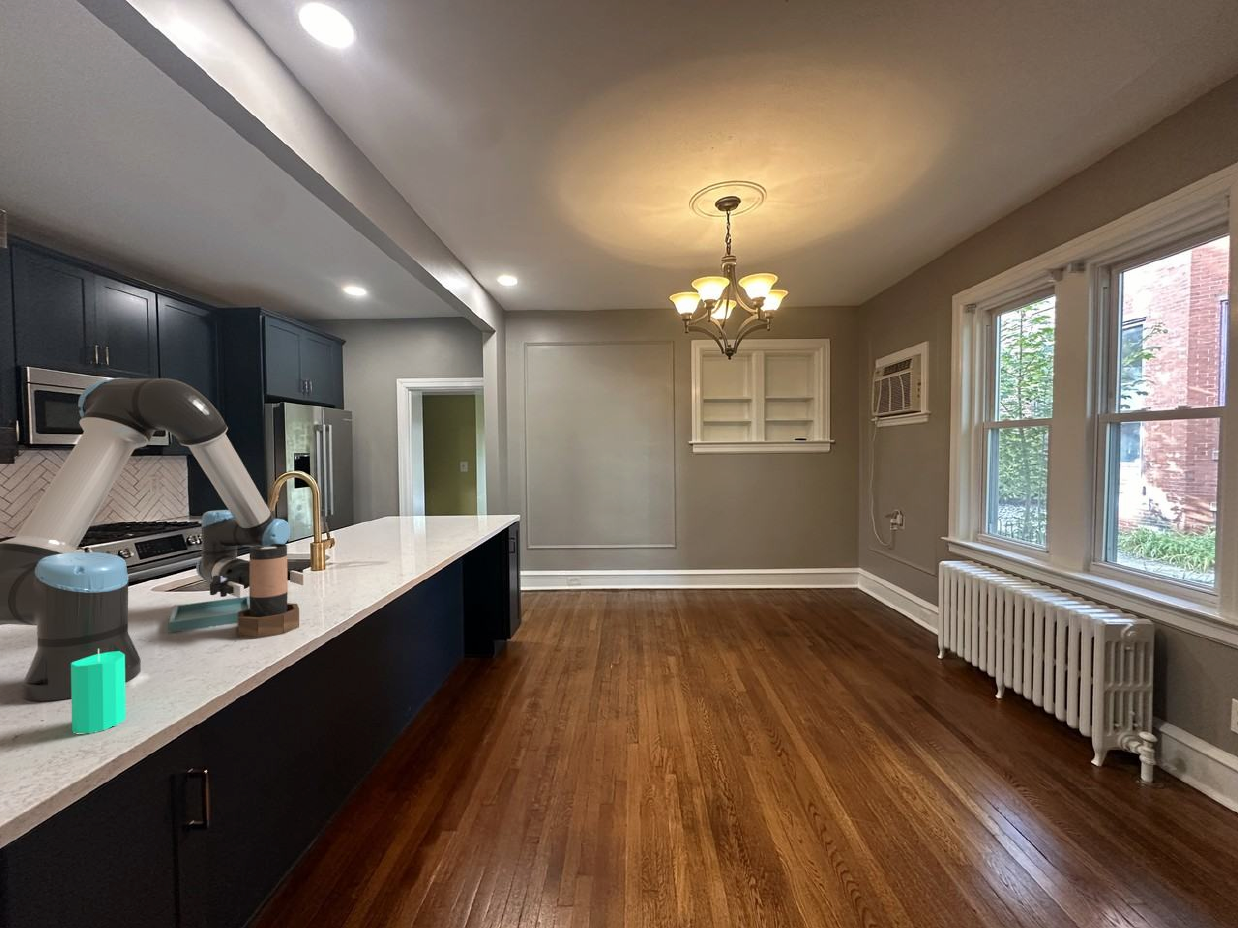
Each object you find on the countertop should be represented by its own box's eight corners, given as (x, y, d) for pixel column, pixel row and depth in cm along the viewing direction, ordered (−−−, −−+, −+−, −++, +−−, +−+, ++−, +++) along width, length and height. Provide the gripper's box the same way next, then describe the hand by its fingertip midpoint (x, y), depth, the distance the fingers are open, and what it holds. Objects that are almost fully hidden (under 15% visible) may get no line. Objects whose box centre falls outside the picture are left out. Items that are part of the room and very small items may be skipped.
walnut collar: (238, 641, 117) (238, 621, 117) (237, 626, 127) (237, 608, 127) (300, 630, 124) (300, 612, 124) (295, 617, 134) (295, 600, 134)
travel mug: (273, 634, 122) (273, 549, 121) (241, 634, 122) (241, 549, 121) (294, 623, 129) (294, 543, 129) (264, 623, 129) (264, 543, 129)
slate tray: (168, 632, 122) (168, 622, 122) (174, 615, 135) (174, 605, 135) (252, 620, 132) (252, 610, 132) (250, 605, 144) (250, 596, 144)
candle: (75, 739, 77) (74, 659, 77) (69, 726, 81) (67, 649, 81) (130, 722, 82) (128, 647, 82) (121, 711, 86) (120, 638, 85)
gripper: (287, 578, 146) (327, 589, 134) (175, 598, 125) (212, 614, 113) (287, 551, 146) (327, 560, 134) (175, 567, 125) (211, 580, 113)
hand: (274, 585), depth 124 cm, fingers open, 13 cm apart
